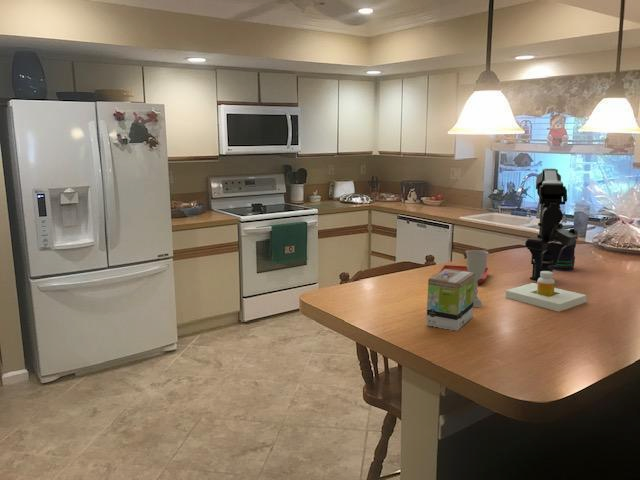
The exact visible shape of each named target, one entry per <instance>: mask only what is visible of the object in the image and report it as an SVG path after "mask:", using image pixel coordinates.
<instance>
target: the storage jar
mask: <svg viewBox="0 0 640 480" xmlns="http://www.w3.org/2000/svg"><path fill="white" fill-rule="evenodd" d="M576 246H577V239H576V240H575V241H574V243H573V245H568V246H566V247H565V248H564V249H563V250H562V252H561V255H560V257H559V259H558V262H557V264H556V265H555V266H553V265H552V269H553V271H559V272H572V271H574V270H575V267H574V266H575V263H576V262H575V261H576V260H575V259H576V256H575V252H576V251H575V250H576V249H575V248H576Z"/></svg>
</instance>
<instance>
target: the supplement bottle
mask: <svg viewBox="0 0 640 480" xmlns="http://www.w3.org/2000/svg"><path fill="white" fill-rule="evenodd" d="M540 276H541V277H540V278H538V280H537V283H536V284H537V294H539V295H543V296H547V297H550V296H554V288H555V279H553V278H554V277H553V276H554V272H550V271H541V272H540Z"/></svg>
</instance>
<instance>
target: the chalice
mask: <svg viewBox="0 0 640 480" xmlns="http://www.w3.org/2000/svg"><path fill="white" fill-rule="evenodd" d="M465 254H466V266H467V269H468V272H473V273H475V284H474V302H473V308H481V306H482V307H483V306H484V305H483V302H482V299H481V298H480V297H478V292H479V290H478V286H479V284H477V281H478V280H479V279H481V277H482V275H483V273H484V272H485V269H486V267H487V259H488V258H487V257H488V255H489V251H487V250H481V249H470V250H465Z"/></svg>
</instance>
